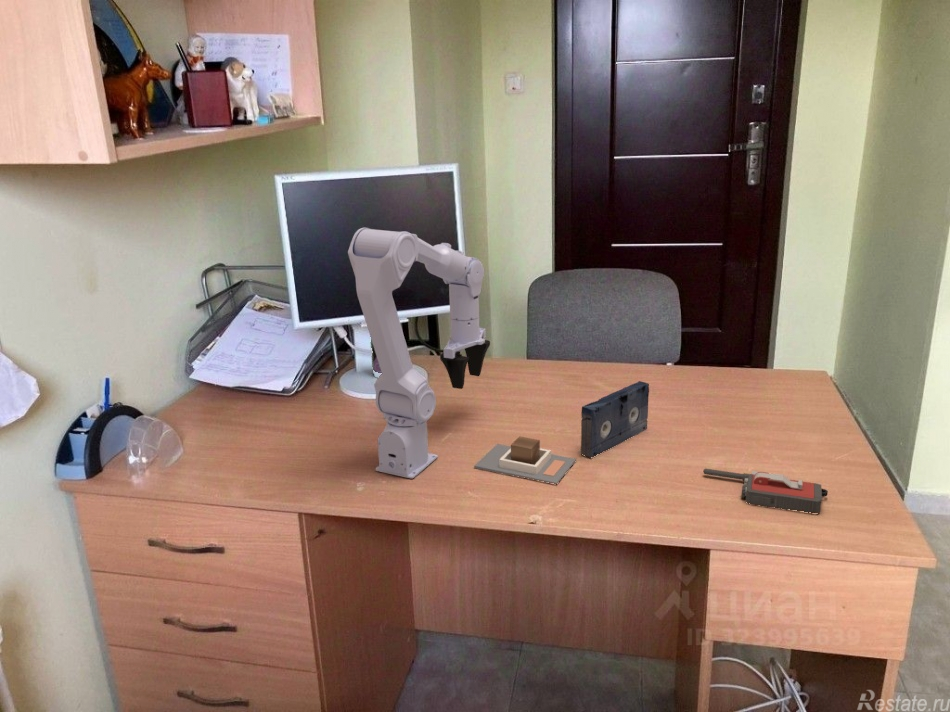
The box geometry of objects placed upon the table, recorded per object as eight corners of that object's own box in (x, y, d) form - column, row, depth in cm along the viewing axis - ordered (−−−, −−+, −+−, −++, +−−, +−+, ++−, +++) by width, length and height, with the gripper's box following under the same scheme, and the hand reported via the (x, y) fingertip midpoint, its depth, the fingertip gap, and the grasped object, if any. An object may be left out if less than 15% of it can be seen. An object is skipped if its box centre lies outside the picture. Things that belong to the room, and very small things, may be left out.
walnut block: (531, 468, 140) (531, 448, 139) (510, 464, 142) (510, 444, 141) (539, 459, 144) (539, 440, 142) (519, 455, 145) (519, 436, 144)
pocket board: (556, 485, 135) (556, 475, 135) (474, 468, 142) (474, 458, 141) (576, 461, 144) (576, 451, 143) (497, 446, 150) (497, 436, 150)
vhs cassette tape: (637, 426, 158) (639, 380, 155) (649, 430, 156) (652, 383, 153) (578, 454, 146) (579, 405, 143) (590, 460, 144) (591, 410, 141)
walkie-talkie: (826, 493, 131) (703, 475, 138) (829, 469, 130) (705, 452, 137) (827, 519, 123) (697, 498, 131) (831, 494, 122) (699, 475, 129)
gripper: (465, 329, 145) (467, 396, 150) (498, 309, 157) (499, 372, 162) (432, 324, 148) (435, 391, 153) (467, 305, 160) (469, 367, 165)
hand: (466, 381), depth 158 cm, fingers open, 7 cm apart
